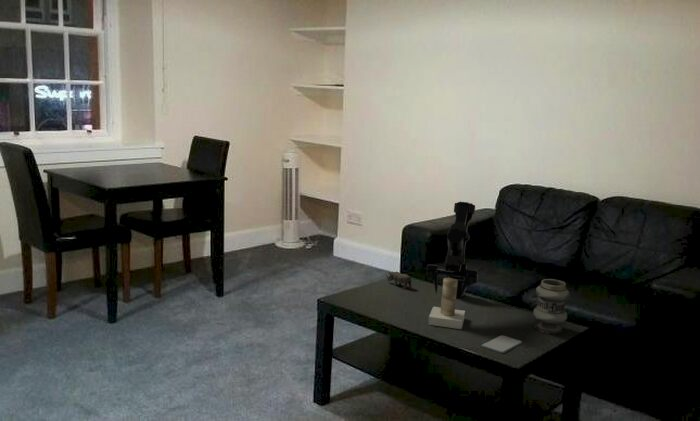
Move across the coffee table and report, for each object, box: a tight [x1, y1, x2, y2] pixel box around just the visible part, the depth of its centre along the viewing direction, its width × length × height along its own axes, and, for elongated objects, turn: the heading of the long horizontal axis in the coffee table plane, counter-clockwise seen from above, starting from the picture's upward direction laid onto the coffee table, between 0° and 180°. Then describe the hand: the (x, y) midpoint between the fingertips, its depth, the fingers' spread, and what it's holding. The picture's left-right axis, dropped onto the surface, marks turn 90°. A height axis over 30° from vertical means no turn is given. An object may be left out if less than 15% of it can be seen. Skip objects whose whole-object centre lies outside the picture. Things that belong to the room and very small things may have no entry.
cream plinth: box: [427, 306, 466, 330], centre depth 248 cm, size 12×12×3 cm
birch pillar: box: [440, 277, 458, 316], centre depth 246 cm, size 5×5×13 cm
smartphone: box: [480, 334, 523, 355], centre depth 229 cm, size 8×1×15 cm
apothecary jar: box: [532, 278, 570, 334], centre depth 245 cm, size 12×12×18 cm
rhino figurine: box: [385, 271, 413, 290], centre depth 288 cm, size 4×14×6 cm, turn 45°
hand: (448, 293), depth 245 cm, fingers open, 9 cm apart
